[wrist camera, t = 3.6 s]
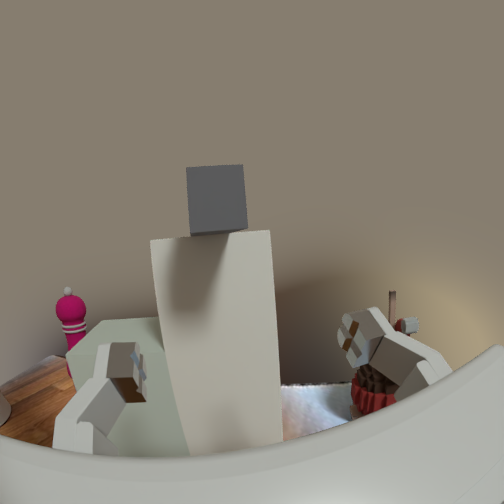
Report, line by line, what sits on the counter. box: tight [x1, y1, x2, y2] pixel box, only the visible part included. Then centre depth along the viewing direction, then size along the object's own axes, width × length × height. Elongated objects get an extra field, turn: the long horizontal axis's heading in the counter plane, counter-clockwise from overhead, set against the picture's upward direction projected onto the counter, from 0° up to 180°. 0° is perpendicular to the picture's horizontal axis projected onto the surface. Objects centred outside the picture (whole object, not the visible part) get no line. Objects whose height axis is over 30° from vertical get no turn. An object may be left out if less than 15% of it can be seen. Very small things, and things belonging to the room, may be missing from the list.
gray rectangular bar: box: [186, 165, 248, 236], centre depth 27 cm, size 22×4×4 cm, turn 12°
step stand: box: [66, 230, 283, 457], centre depth 31 cm, size 14×22×26 cm, turn 102°
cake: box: [350, 290, 419, 420], centre depth 31 cm, size 11×9×18 cm
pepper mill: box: [56, 287, 87, 389], centre depth 41 cm, size 7×7×20 cm
